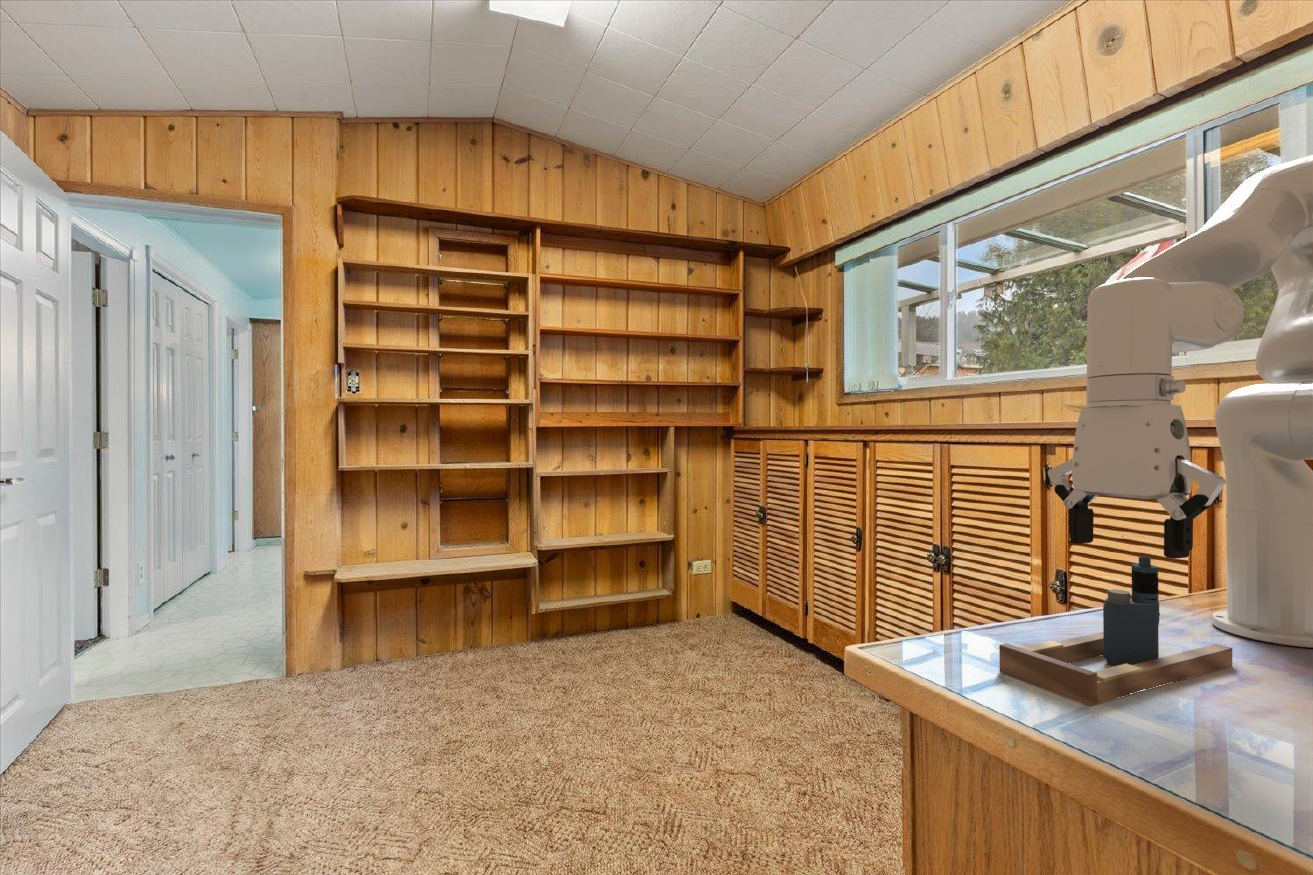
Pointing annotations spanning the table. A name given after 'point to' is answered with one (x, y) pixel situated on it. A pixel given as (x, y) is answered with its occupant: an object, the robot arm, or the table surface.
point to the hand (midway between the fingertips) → (1126, 549)
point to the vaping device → (1133, 618)
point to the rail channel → (1056, 675)
